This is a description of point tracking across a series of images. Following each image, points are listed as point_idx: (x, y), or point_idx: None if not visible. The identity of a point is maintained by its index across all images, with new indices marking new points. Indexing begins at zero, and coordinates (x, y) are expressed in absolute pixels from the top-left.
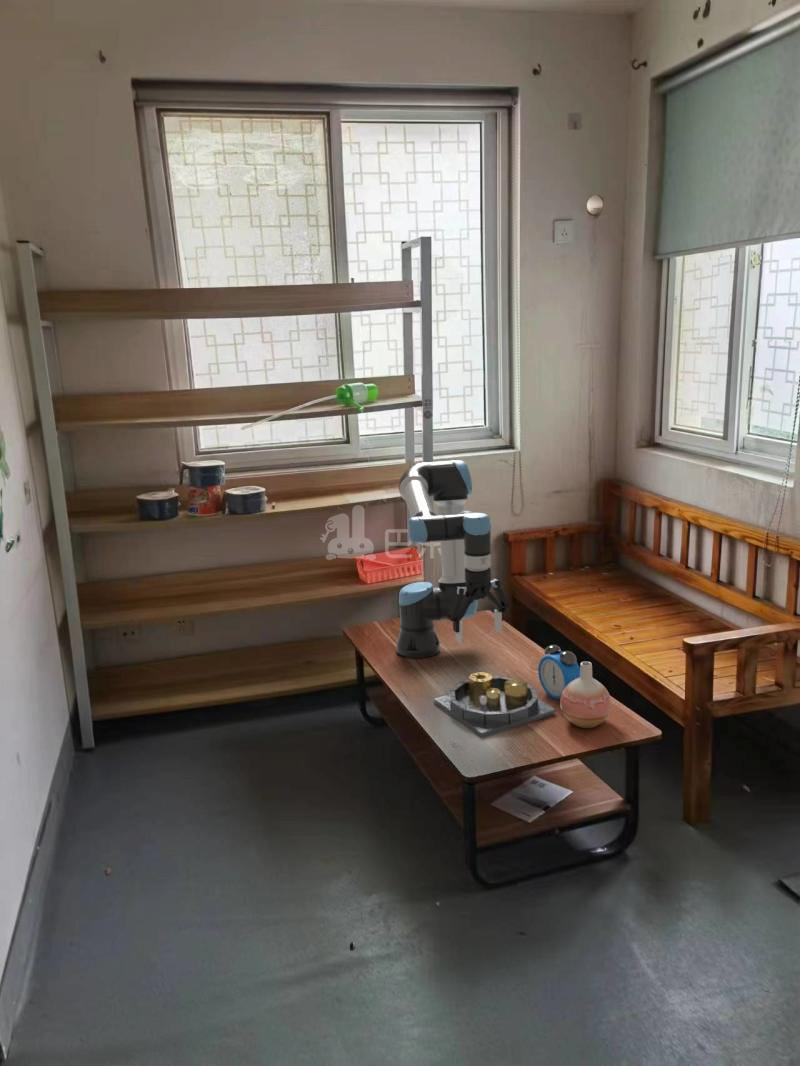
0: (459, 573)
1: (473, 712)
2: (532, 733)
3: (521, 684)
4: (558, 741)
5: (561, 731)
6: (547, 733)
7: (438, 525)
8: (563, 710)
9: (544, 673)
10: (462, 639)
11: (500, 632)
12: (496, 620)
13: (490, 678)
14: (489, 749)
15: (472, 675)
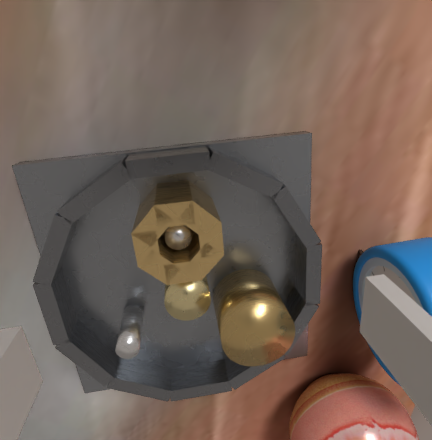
0: None
1: (80, 365)
2: (205, 396)
3: (271, 345)
4: (233, 432)
5: (263, 405)
6: (233, 404)
7: None
8: (291, 433)
9: (396, 274)
10: (27, 409)
11: (369, 335)
12: (426, 371)
13: (205, 271)
14: (85, 422)
15: (154, 220)
